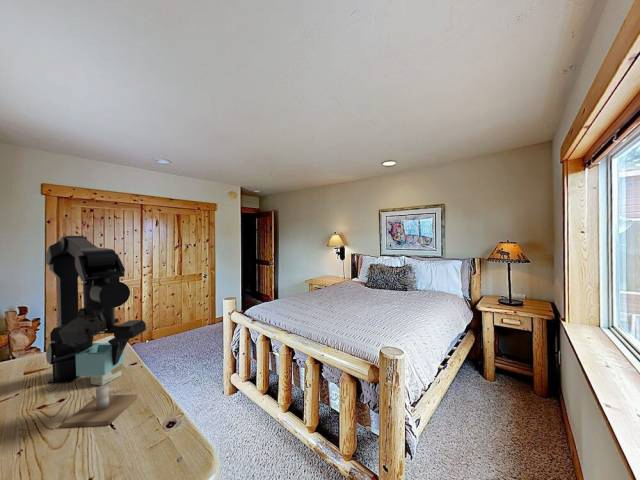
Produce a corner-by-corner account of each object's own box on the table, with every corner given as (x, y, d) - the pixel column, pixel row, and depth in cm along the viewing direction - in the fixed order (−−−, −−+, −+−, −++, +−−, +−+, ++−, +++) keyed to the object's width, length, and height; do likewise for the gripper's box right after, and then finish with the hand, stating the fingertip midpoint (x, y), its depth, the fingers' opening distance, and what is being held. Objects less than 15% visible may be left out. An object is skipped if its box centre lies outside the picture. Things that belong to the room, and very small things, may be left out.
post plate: (63, 427, 60) (62, 401, 60) (98, 399, 70) (97, 377, 70) (108, 425, 60) (107, 399, 60) (137, 397, 70) (136, 375, 70)
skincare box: (102, 386, 76) (101, 344, 76) (90, 384, 77) (88, 343, 77) (123, 374, 82) (122, 335, 82) (111, 373, 83) (110, 334, 83)
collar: (76, 376, 61) (75, 354, 61) (98, 362, 68) (97, 343, 68) (104, 375, 62) (104, 354, 62) (123, 362, 68) (123, 342, 68)
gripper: (23, 312, 56) (26, 384, 56) (114, 310, 57) (116, 381, 57) (70, 299, 67) (72, 359, 67) (146, 297, 68) (148, 357, 68)
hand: (101, 364), depth 65 cm, fingers closed on collar, 6 cm apart
